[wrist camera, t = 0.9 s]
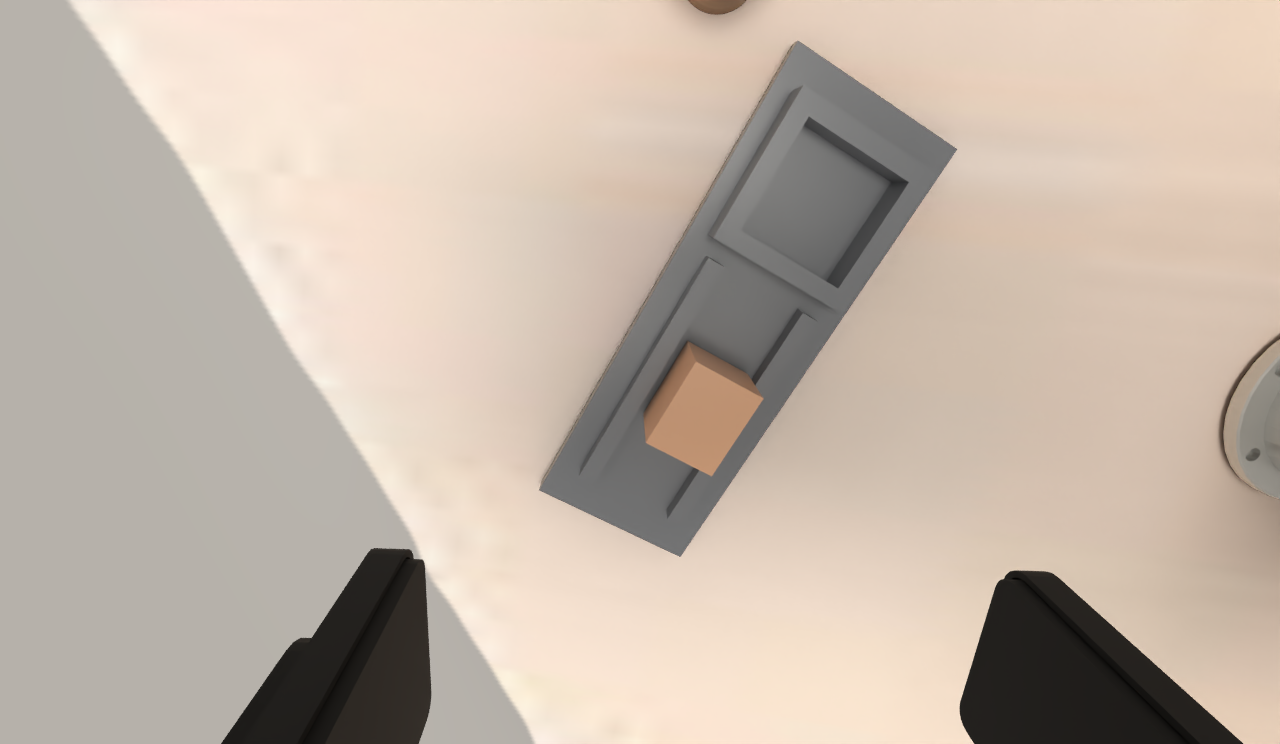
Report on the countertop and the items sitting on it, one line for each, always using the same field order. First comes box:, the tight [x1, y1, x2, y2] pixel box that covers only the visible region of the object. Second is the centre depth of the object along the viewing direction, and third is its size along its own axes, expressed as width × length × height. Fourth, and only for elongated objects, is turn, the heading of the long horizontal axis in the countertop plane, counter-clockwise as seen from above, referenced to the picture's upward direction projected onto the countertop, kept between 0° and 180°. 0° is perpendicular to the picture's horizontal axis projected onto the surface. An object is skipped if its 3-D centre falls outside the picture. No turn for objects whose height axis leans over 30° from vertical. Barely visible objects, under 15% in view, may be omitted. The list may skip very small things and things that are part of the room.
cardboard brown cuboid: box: [643, 341, 764, 476], centre depth 32 cm, size 4×5×4 cm
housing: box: [539, 41, 957, 557], centre depth 33 cm, size 10×28×3 cm, turn 150°
